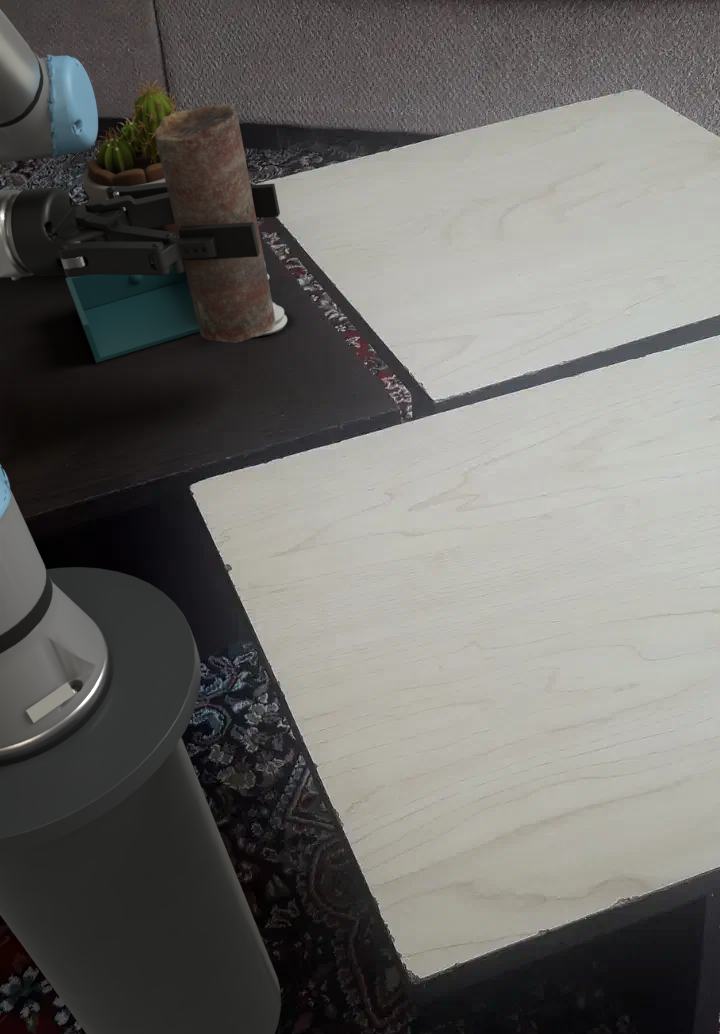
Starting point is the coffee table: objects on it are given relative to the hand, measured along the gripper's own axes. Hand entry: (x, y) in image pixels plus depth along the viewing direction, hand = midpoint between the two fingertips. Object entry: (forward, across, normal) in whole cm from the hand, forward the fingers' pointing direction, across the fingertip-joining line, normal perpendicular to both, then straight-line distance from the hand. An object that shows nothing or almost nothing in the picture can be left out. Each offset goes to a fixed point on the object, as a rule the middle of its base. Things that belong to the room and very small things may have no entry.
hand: (265, 219), depth 93 cm
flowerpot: (-25, -33, -17) cm, 45 cm away
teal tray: (-22, -17, -17) cm, 33 cm away
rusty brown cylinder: (-5, 0, -11) cm, 12 cm away
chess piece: (-7, -13, -17) cm, 23 cm away
